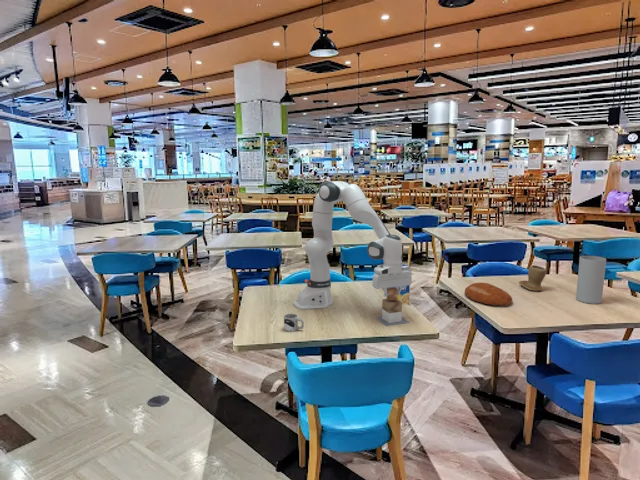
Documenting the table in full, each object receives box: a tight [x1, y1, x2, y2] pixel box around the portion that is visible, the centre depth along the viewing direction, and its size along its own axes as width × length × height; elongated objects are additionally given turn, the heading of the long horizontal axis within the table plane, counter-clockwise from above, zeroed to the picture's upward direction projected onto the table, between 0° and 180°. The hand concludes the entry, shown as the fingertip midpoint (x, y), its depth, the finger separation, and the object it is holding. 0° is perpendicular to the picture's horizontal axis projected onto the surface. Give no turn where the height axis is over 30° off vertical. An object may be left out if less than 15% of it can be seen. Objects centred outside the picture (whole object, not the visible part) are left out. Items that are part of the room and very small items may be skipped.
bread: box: [464, 282, 513, 307], centre depth 245 cm, size 23×32×9 cm
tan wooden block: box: [381, 298, 403, 313], centre depth 208 cm, size 7×7×5 cm
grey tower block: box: [381, 308, 403, 323], centre depth 209 cm, size 7×7×5 cm
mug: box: [283, 313, 304, 333], centre depth 202 cm, size 10×7×7 cm
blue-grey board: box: [374, 315, 411, 327], centre depth 209 cm, size 13×13×2 cm
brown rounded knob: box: [387, 287, 398, 300], centre depth 207 cm, size 5×5×5 cm
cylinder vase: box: [575, 255, 607, 305], centre depth 237 cm, size 12×12×25 cm
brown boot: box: [518, 264, 547, 292], centre depth 263 cm, size 15×12×15 cm
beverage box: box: [385, 263, 411, 305], centre depth 236 cm, size 7×11×22 cm, turn 108°
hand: (392, 295), depth 207 cm, fingers closed on brown rounded knob, 5 cm apart
